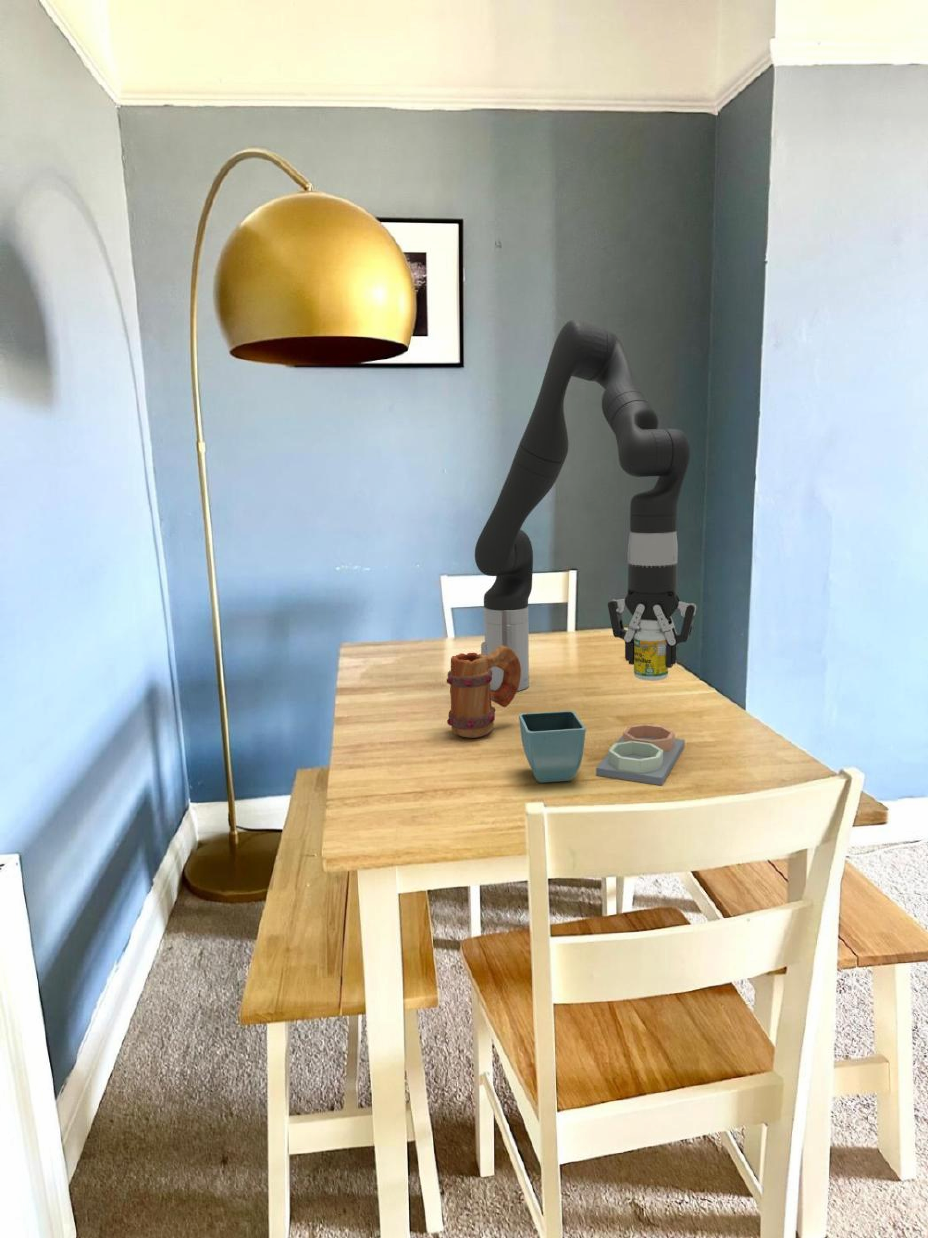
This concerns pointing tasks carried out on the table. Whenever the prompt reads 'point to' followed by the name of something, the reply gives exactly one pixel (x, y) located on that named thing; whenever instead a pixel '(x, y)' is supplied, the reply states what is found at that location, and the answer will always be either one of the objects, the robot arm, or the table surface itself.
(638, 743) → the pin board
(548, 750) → the flower pot
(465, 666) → the mug
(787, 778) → the table surface
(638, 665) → the supplement bottle
